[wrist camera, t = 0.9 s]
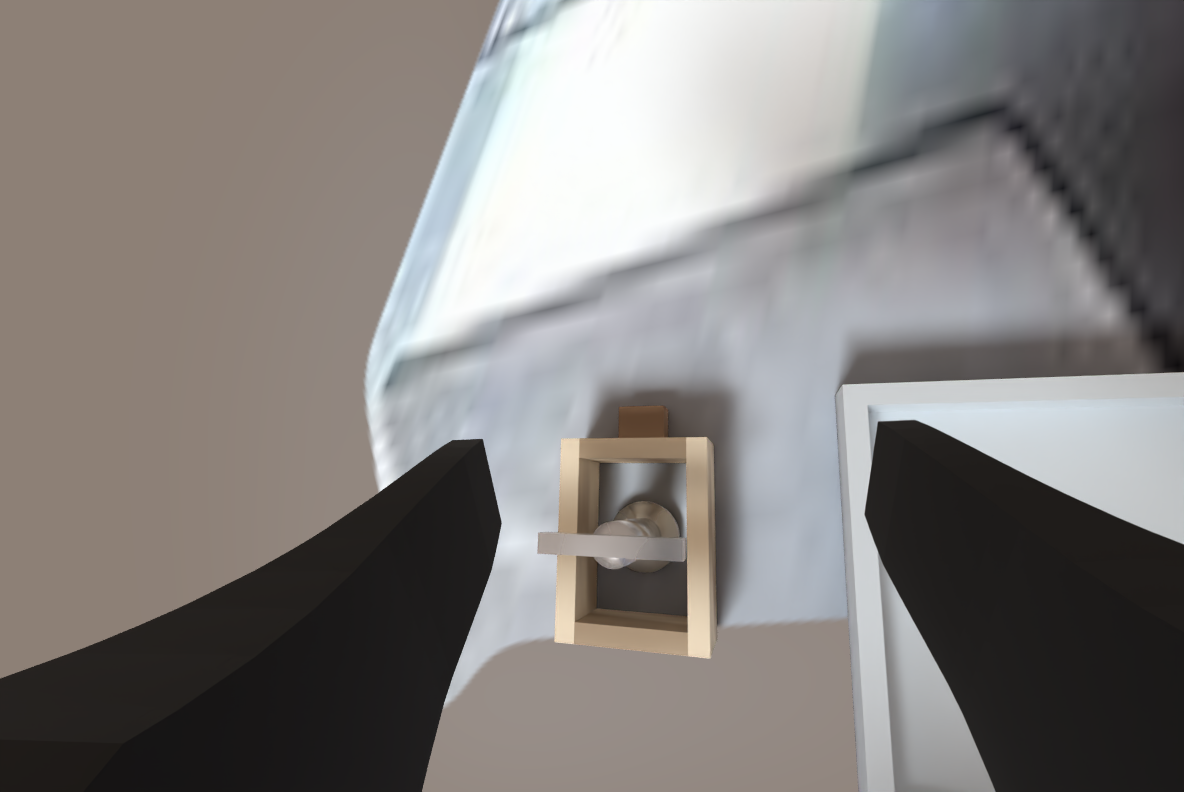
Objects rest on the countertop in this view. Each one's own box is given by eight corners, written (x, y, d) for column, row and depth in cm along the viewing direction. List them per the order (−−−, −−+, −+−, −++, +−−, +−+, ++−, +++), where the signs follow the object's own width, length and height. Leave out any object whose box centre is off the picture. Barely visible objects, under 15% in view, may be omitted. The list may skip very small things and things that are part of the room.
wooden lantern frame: (717, 639, 23) (710, 658, 20) (578, 625, 24) (554, 641, 22) (713, 408, 24) (706, 396, 22) (584, 412, 26) (562, 400, 23)
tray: (1492, 942, 15) (1619, 1018, 13) (860, 827, 20) (872, 869, 18) (1358, 380, 18) (1442, 363, 16) (835, 396, 23) (842, 384, 21)
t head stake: (703, 574, 23) (682, 599, 17) (590, 567, 25) (536, 588, 19) (703, 502, 24) (682, 502, 18) (592, 500, 25) (539, 498, 19)
